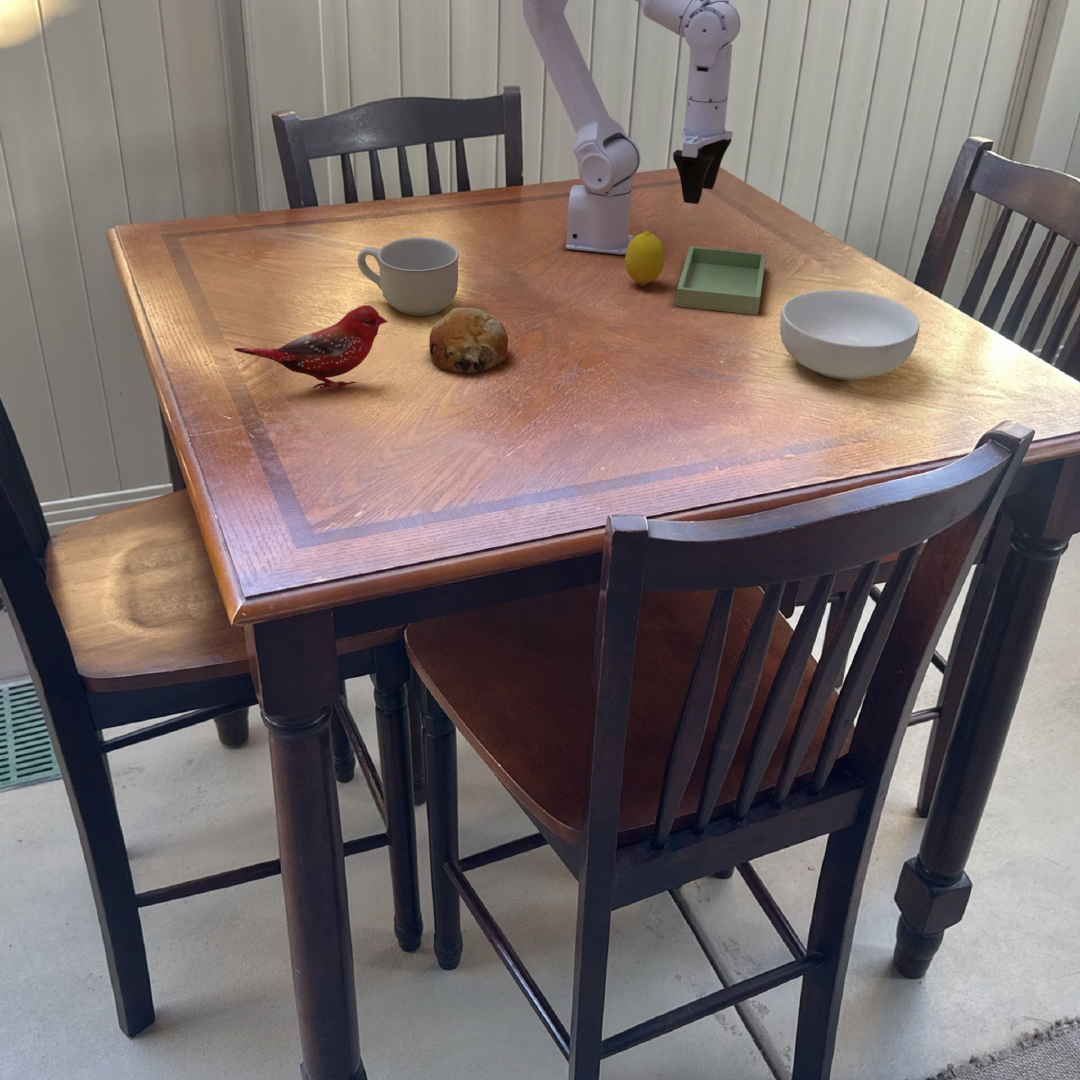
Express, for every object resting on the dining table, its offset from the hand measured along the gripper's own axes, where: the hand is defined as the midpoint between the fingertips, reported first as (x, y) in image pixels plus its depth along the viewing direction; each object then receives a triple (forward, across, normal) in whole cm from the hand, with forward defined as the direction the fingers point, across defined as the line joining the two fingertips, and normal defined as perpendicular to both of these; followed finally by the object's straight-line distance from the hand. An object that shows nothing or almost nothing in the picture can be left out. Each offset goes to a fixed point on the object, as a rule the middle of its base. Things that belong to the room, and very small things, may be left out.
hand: (698, 195), depth 165 cm
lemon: (+10, -12, +4) cm, 16 cm away
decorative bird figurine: (+10, -60, +29) cm, 67 cm away
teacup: (+10, -33, +31) cm, 46 cm away
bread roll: (+10, -45, +16) cm, 49 cm away
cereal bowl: (+11, -26, -27) cm, 39 cm away
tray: (+10, -7, -6) cm, 14 cm away
